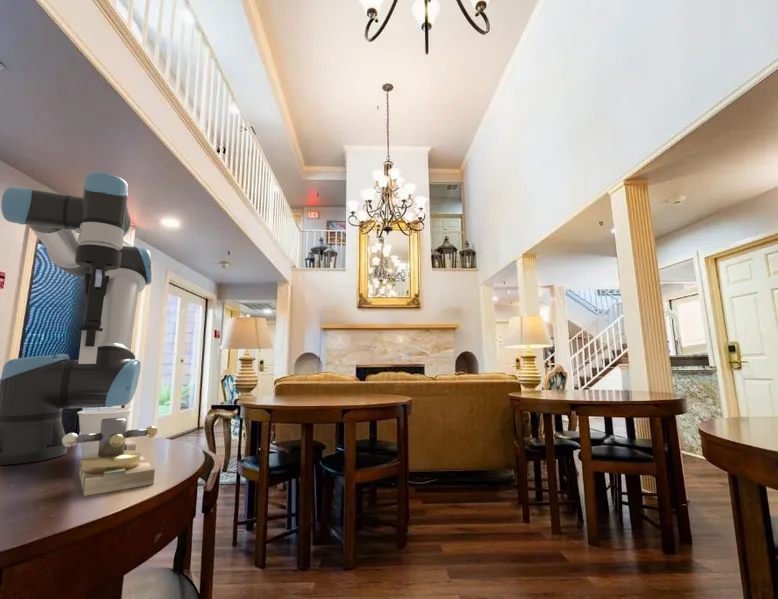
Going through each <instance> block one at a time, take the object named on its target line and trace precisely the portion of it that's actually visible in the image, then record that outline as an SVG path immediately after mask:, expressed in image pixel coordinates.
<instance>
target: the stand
mask: <svg viewBox="0 0 778 599" xmlns="http://www.w3.org/2000/svg"><path fill="white" fill-rule="evenodd" d="M136 448H137V444H136V442H135V441H127V442H126V441H125V446H124V451H126V450H130V451H137V450H136ZM80 468H81V459H79V468H78V475H79V480H80V485H81V488H82V494H83V496H84V497H87V496H93V495H97V494H103V493H104V494H105V493H108V492H109V493H110V492H115V491H121V490H127V489H133V488H139V487H143V486H150V485H154V484H155V471H156V470H155V469H156V468H154V467H153V466H152V464H151V463H149V462H148V460H147V459H146V458H145V457H144V456H143V455H142V454H140V464H138V465H137V466H134V467H131V468H128V469H119V470H112V471H105V472H102V473H85V472H81V471H80Z"/></svg>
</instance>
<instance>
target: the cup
mask: <svg viewBox="0 0 778 599" xmlns="http://www.w3.org/2000/svg"><path fill="white" fill-rule="evenodd" d="M131 411H132V408H128V407H127V408H126V407H103V408H95V409H85V410H81V411H76V412H77V415H78V421H79V422H78V423H79V433H80V434H79V435H83V434H94V433H100V431H101V422H102V420H103V419H108V418H127V421H129V417H130V413H131ZM80 446H81V459H82V458H84V457H86V456H89V455H93V454H98V451H99V441H93V442H83V443H80Z"/></svg>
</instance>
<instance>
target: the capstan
mask: <svg viewBox="0 0 778 599" xmlns="http://www.w3.org/2000/svg"><path fill="white" fill-rule="evenodd" d="M127 423H128V420H127V418H108V419H103V420H102V422H101V431H100V433H94V434H83V435H80V434H77V433H75V432H69V433H67V434H66V433H65V436H64V437H63V438H62V444H63V445H64V446H66V447H67V448H71V447H74V446H75V445H76V446H77V444H81V443H83V442H93V441H99V451H98V454H93V455H89V456H86V457H84V458H82V457H81V458H80V460H81V468H80V471H81V472H85V473H102V472H105V471H112V470H119V469H128V468H131V467H134V466H137V465H138V464H140V454H141V451H138V450H135V451H130V450H126V451H124V446H125V442H126V439H130V438H138V437H147V438H154V437H156V436H157V434H158V428H157V427H156V426H154V425H149V426H147V427H146V428H140V429H138V428H137V429H127V426H128V425H127ZM141 455H142V454H141Z"/></svg>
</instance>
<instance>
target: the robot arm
mask: <svg viewBox="0 0 778 599" xmlns="http://www.w3.org/2000/svg"><path fill="white" fill-rule="evenodd" d="M82 190H83V194H82V196H81V197H80V196H74V195H68V194H62V193H56V192H51V191H49V192H48V191H44V190H39V189H38V190H37V189H33V188H23V187H15V186H14V187H13V186H12V187H10V186H9V187H7V188H5V190H4V191H3V194H2V195H1V196H2V197H1V201H0V202H1V204H0V208H1V214H2V217H3V218H4V219H5V220H6V221H7V222H9V223H14V224H18V225H22V226H23V225H27V226H28V227H29V228H30V230H31V231H32V232H33V233H34V235H35V236H36V237H37V238H38V239H39V241H41V243H42V244H43V246H44V247H45V248H46V249H47V254H48V258H49V259H50V261H51V262H52V263H53V265H54V266H56V267H57V268H59V269H60V270H62V271H64V272H65V273H67V274H68V275H69V274H70V275H73V276H75V277H77V278H79V279H83V284H84V288H83V289H84V290H83V297H85V303H84V308H83V309H84V312H83V318H82V320H83V322H82V324H81V326H80V325H79V326H78V330H80V331H81V339H80V345H79V346H80V348H79V354H78V359H70V356H69V354H65V353H63V354H62V353H61V354H58V353H57V354H49V355H35V356H28V357H27V356H26V357H19V358H13V359H10V360H8V361H6V362H5V363H4V365H3V368H2V372H1V376H0V377H1V378H0V466H5V465H17V464H18V465H19V464H26V463H27V464H28V463H33V462H34V463H35V462H41V461H45V460H50V459H54V458H58V457H60V456H61V457H62V456H63V455H66V454H67V451H68V447H66V446H64V445H63V444H62V438H63V437H64V436H65V435H66V433H65V430H64V426H63V422H62V415H63V410H64V409H83V408H84V409H87V408H88V409H89V408H113V407H120V406H122V407H123V406H126V405H128V404H130V403H131V401H132V400H133V398H134V396H135V394H136V390H137V386H138V383H139V377H140V373H141V361H140V360H138V359H136V355H135V353H134V352H133V351H132V350H131V346H132V338H133V333H134V327H135V326H134V325H135V320H136V319H135V317H136V313H137V312H136V311H137V305H138V298H139V293H140V292H142V291H143V290H144V289H145V288H146V286H148V285H151V284H152V275H153V274H152V256H151V252H150V250H149V249H147V248H144V247H138V246H126V245H124V237H125V236H127V234H128V233H129V231H130V229H131V221H132V220H131V219H132V218H131V216H130V214H129V210H128V209H129V208H128V197H129V193H128V191H129V184H128V183H127V181H126V180H124V179H123V178H121V177H119V176H117V175H113V174H110V173H108V172H107V173H106V172H91V173H89V174H87V175H86V177H85V181H84V186H83V187H82Z"/></svg>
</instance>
